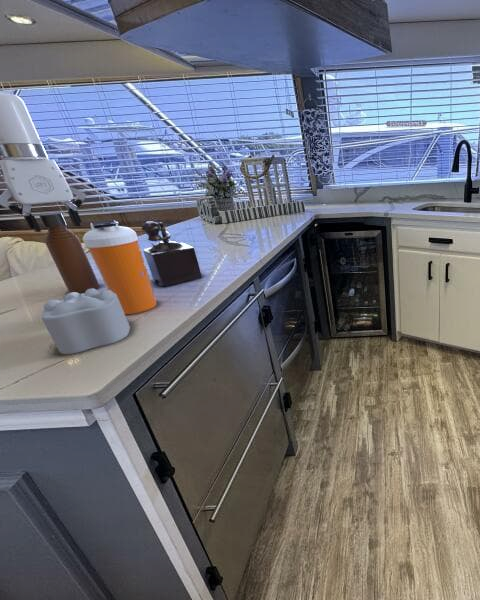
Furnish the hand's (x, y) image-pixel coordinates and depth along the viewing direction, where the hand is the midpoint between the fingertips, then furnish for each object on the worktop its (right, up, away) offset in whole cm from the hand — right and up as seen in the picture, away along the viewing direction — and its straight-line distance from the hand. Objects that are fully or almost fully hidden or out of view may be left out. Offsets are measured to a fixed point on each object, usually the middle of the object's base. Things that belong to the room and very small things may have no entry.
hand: (58, 228), depth 83 cm
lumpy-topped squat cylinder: (+29, -26, -19) cm, 43 cm away
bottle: (+1, -16, +7) cm, 17 cm away
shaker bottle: (+27, -21, -7) cm, 35 cm away
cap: (0, 0, 0) cm, 1 cm away
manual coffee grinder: (+25, -13, +10) cm, 30 cm away
